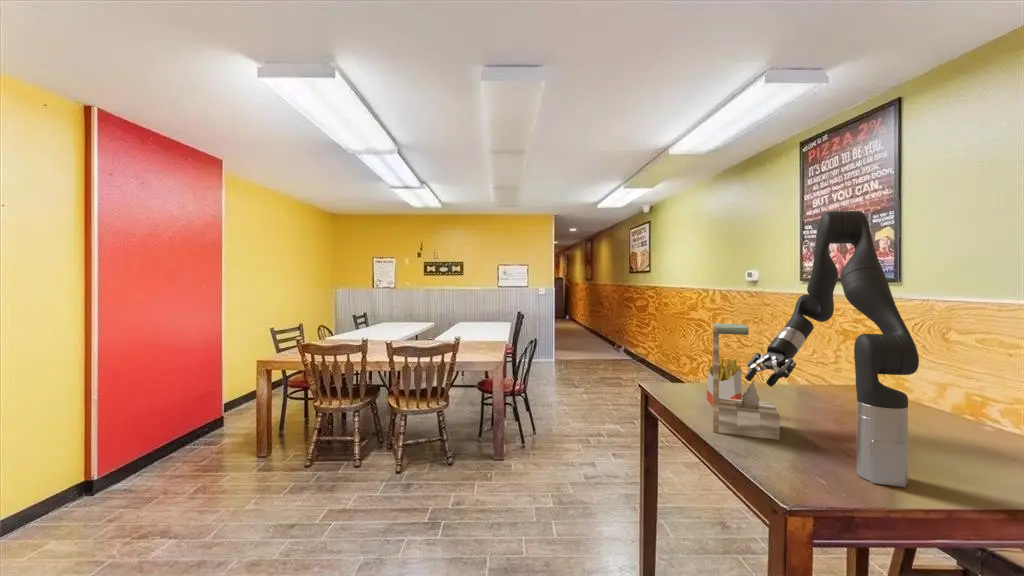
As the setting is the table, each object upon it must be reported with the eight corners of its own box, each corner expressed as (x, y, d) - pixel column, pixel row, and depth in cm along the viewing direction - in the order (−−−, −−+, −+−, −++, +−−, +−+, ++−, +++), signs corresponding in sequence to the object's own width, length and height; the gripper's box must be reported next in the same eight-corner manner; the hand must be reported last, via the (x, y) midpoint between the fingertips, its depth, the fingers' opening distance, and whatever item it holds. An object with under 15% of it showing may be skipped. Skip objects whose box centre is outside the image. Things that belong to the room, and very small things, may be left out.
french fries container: (734, 413, 160) (734, 361, 160) (706, 406, 169) (706, 357, 169) (741, 411, 163) (741, 360, 163) (713, 404, 172) (713, 356, 172)
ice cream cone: (751, 427, 145) (758, 380, 145) (758, 432, 140) (765, 383, 140) (735, 424, 145) (741, 378, 145) (741, 429, 140) (748, 380, 140)
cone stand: (779, 439, 132) (779, 329, 132) (713, 432, 139) (713, 327, 139) (772, 424, 146) (772, 325, 146) (712, 418, 153) (712, 323, 153)
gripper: (761, 334, 153) (733, 370, 150) (799, 338, 139) (769, 378, 136) (774, 349, 154) (746, 385, 151) (812, 355, 141) (783, 395, 137)
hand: (757, 382), depth 144 cm, fingers open, 8 cm apart
